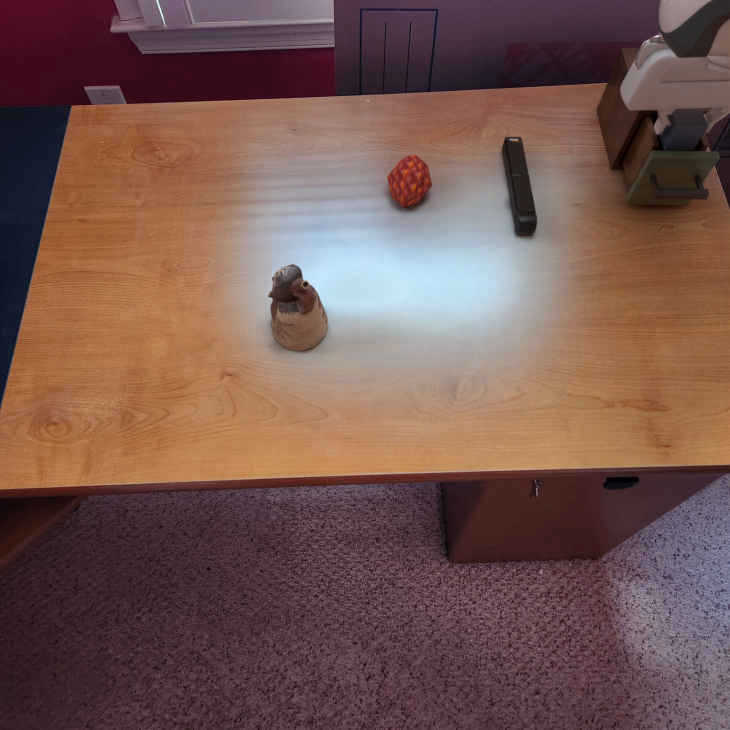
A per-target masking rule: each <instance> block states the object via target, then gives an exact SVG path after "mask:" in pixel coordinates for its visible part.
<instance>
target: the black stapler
mask: <svg viewBox="0 0 730 730" xmlns="http://www.w3.org/2000/svg"><path fill="white" fill-rule="evenodd" d="M501 154H502V159H503V166H504V172H505V179H506V184H507V190H508V196H509V202H510V209H511V215H512V222H513V228H514V233H515V234H516V235H520V234H521V235H530V234H532V235H533V234H535V233H536V232H537V231H536V230H537V226H538V215H537V212H536V211H537V209H536V205H535V199H534V193H533V189H532V184H531V178H530V174H529V168H528V163H527V158H526V153H525V148H524V142H523V139H522V137H521V136H505V137H504V139H503V143H502V147H501Z"/></svg>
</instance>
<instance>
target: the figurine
mask: <svg viewBox="0 0 730 730" xmlns="http://www.w3.org/2000/svg"><path fill="white" fill-rule="evenodd" d="M271 280H272V288H271V291H269V293H268V295H267V298H271V299H272V301H271V304H270V316H271V320H270V326H271V333H272V335H273V337H274V339H275V340H276V341H277V342H278V343H279V344H280V345H281V346H283V347H284V348H286V349H288V350H292V351H307V350H310V349H313V348H315V347H316V346H317V345H319V343H321V342H322V340H323V339H324V337H325V336H326V334H327V330H328V326H329V325H328V324H329V323H328V316H327V312H326V310H325V307H324V305H323V303H322V300H321V297H320V294H319V292H318V291H317V290H316V289H315V287H314V286H313V285H311V284H310V283H309V281H308V280H306V279H305V280H304V276H303V272H302V269H301V268H300V266H299V265H296V264H294V263H290V264H287V265H285V266H283V267H281V268H279V269H277V270H276V271H275V272H274V275H273V277H271Z"/></svg>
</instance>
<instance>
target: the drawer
mask: <svg viewBox="0 0 730 730" xmlns="http://www.w3.org/2000/svg"><path fill="white" fill-rule="evenodd" d="M658 117H659V116H658V115H642V117H641V119H640V121H639V123H638V126H637V128H636V130H635V132H634V134H633V136H632V138H631V140H630V142H629V144H628V146H627V148H626V150H625V152H624V154H623V156H622V158H621V160H622V164H623V168H624V170H623V171H624V177H625V179H626V184H627V188H628V190H629V191H628V192H627V194H626V196H625V203H626V205H652V206H653V205H655V206H657V205H658V206H660V205H661V206H662V205H663V206H688V205H689V204H690V202H691V201H692V200H698V201H699V200H700V201H701V200H703V201H704V200H705V201H706V200H707V199H708V198H709V196H710V190H709V188H705V186H704V182H705V181H706V179H707V178H708V177H709V174H710V173H711V172H712V171H713V168H714V167H715V166H716V165H717V163H718V161H720V158H721V156H720V153H719V151H715V150H714V151H713V150H707V149H708V148H709V146H710V144H709V140H708V138H707V135H706V133H704V134H703V135H702V137H701V138H700V140H699V142H698V143H697V145H696V146H695V148H694V150H679V151H664V149H663V147H662V144H661V142H660V139H659V137H658V134H656V132H655V130H654V125H655V123H656V121H657V119H658Z"/></svg>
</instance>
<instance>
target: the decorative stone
mask: <svg viewBox="0 0 730 730" xmlns="http://www.w3.org/2000/svg"><path fill="white" fill-rule="evenodd" d="M386 178H387V182H388V188H389V191H390V196H391V198H392V199H393V200H394V201H395V202H396V203H398V204H399V205H400V206H401V208H405V207H409V206H414V205H415V204H418V203H419V202H420V201H421V200H422V198H424V196H425V195H426V194H427V192H429V191H430V189H432V187H433V182H432V178H431V173H430V170H429V165H428V164H427V163H426V162H425V161H424V160H423V159H422V158H421V157H419V155H417V154H411V155H410V154H409V155H406V156H405V157H403V158H402V159H400V160H399V161H398V162H397V164H396V165H395V166H394V167H393V168H392V170H391V171H390V172H389V173H388V174H387V175H386Z"/></svg>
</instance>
